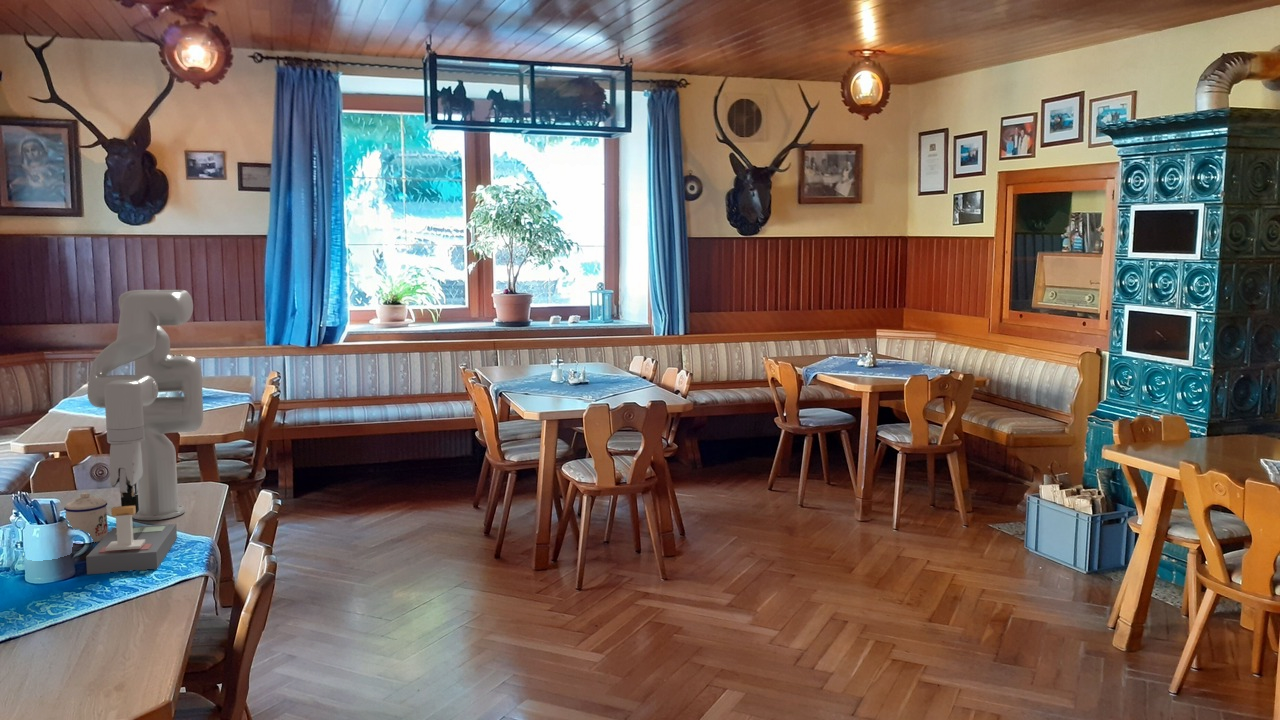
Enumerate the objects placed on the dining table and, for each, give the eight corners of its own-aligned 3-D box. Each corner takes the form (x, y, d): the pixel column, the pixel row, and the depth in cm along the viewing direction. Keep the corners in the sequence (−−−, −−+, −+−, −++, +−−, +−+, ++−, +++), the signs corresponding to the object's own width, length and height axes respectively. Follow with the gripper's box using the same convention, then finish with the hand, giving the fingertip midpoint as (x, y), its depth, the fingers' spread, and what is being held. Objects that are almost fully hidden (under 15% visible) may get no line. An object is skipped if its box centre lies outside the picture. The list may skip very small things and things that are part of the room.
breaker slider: (111, 544, 214) (109, 505, 213) (145, 541, 216) (143, 503, 215) (105, 550, 210) (102, 511, 208) (140, 548, 211) (138, 509, 210)
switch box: (113, 544, 229) (112, 527, 228) (177, 539, 233) (176, 523, 232) (87, 574, 208) (85, 556, 207) (157, 569, 212) (156, 551, 211)
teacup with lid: (104, 543, 229) (101, 496, 228) (61, 546, 227) (58, 499, 225) (116, 529, 241) (113, 484, 239) (75, 532, 238) (72, 486, 237)
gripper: (116, 428, 221) (120, 505, 224) (98, 442, 207) (103, 523, 209) (151, 427, 223) (155, 503, 226) (136, 440, 209) (140, 521, 211)
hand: (130, 512), depth 218 cm, fingers closed
